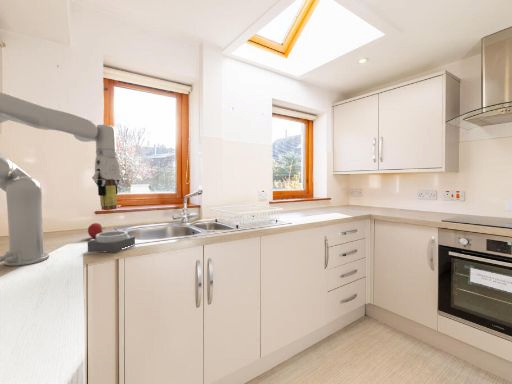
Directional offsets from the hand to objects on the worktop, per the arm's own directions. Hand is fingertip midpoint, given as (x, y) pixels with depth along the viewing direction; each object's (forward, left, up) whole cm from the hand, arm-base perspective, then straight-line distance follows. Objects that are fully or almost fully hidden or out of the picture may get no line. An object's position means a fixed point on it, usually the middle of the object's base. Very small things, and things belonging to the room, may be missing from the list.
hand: (108, 194), depth 115 cm
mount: (0, -1, -24) cm, 24 cm away
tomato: (+16, +22, -24) cm, 36 cm away
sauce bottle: (0, 0, -7) cm, 7 cm away
